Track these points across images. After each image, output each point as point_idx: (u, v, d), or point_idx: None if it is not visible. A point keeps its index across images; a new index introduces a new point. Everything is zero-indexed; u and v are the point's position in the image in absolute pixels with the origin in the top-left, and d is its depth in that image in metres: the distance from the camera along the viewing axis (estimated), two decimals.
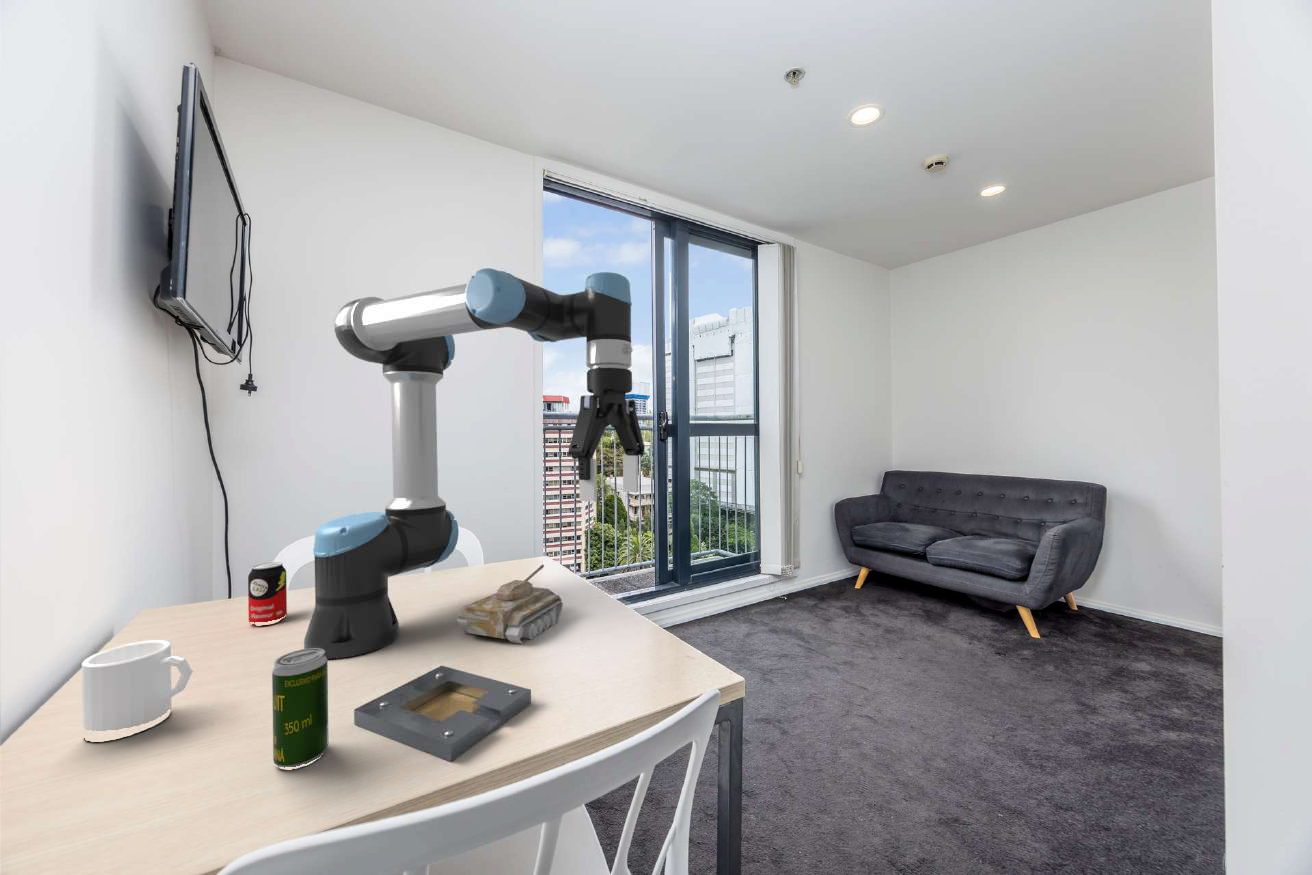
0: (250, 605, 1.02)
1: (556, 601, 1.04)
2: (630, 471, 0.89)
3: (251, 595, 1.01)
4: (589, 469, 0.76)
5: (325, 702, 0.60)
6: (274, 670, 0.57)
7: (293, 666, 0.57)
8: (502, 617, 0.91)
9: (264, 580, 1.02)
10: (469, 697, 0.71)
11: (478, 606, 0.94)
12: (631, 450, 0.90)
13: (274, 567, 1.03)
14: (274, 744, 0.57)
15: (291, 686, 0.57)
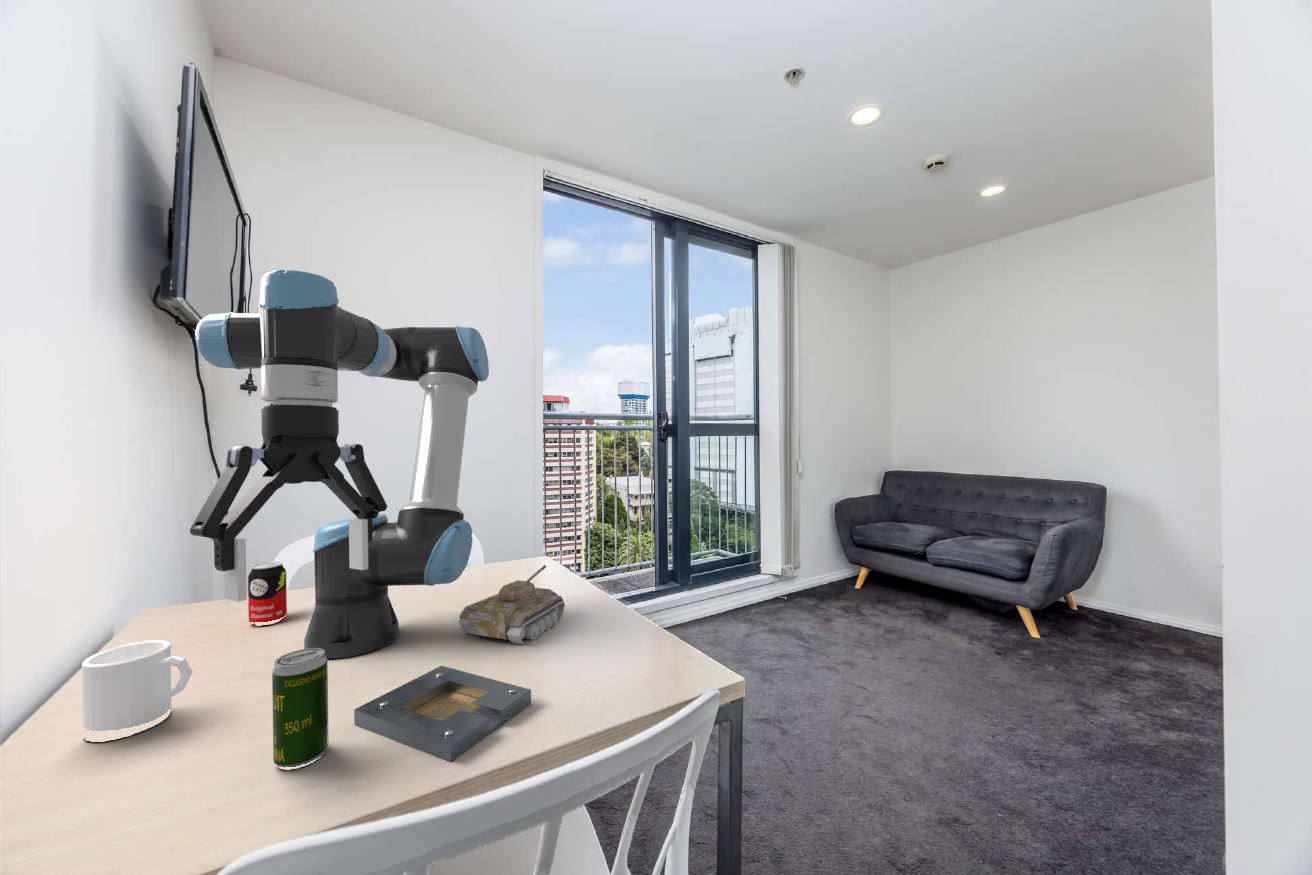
0: (250, 605, 1.02)
1: (558, 602, 1.03)
2: (356, 541, 0.65)
3: (251, 595, 1.01)
4: (231, 555, 0.52)
5: (325, 702, 0.60)
6: (274, 670, 0.57)
7: (293, 666, 0.57)
8: (503, 617, 0.90)
9: (264, 580, 1.02)
10: (469, 697, 0.71)
11: (480, 606, 0.94)
12: (361, 512, 0.66)
13: (274, 567, 1.03)
14: (274, 744, 0.57)
15: (291, 686, 0.57)
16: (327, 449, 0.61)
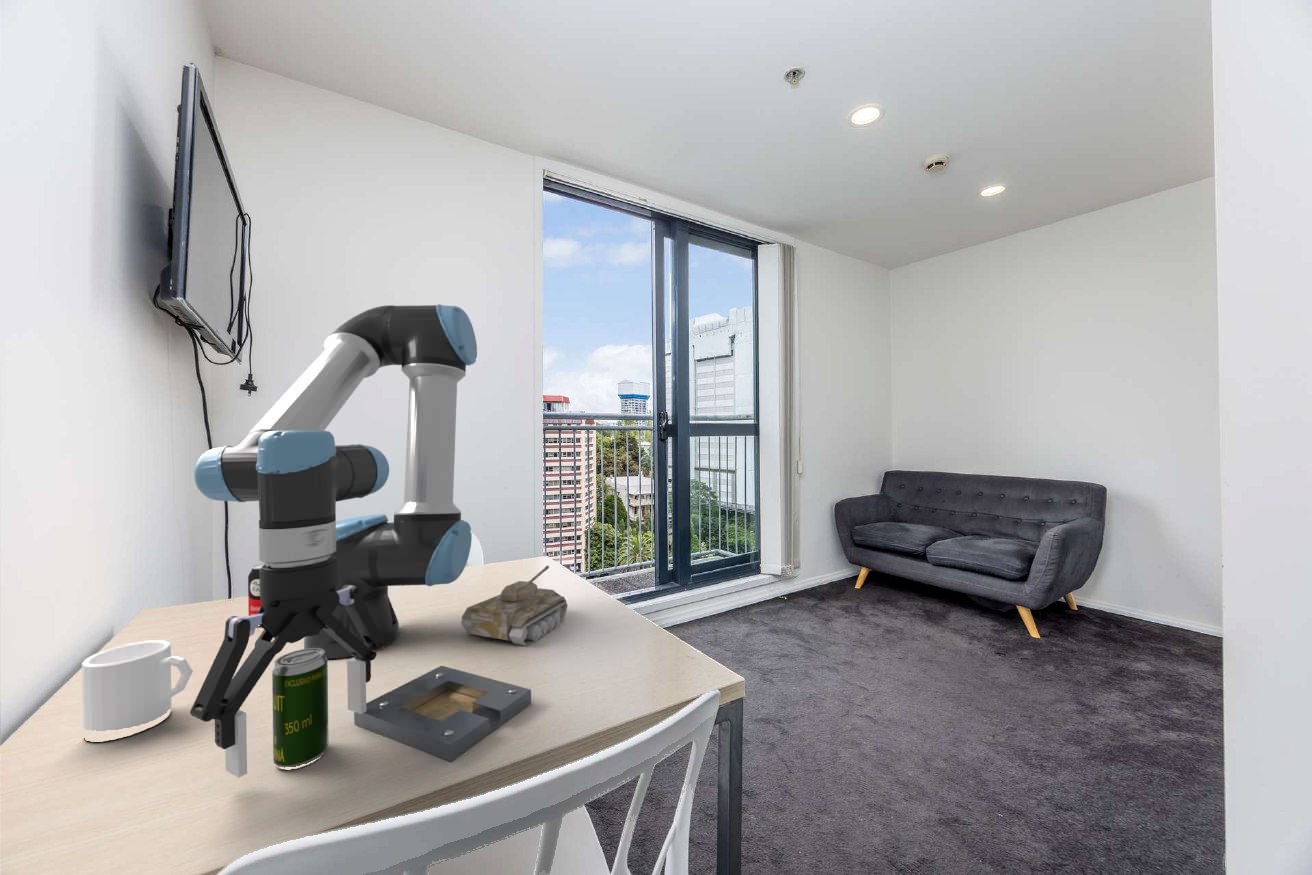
0: (250, 605, 1.02)
1: (561, 602, 1.03)
2: (354, 684, 0.65)
3: (251, 595, 1.01)
4: (231, 731, 0.53)
5: (325, 702, 0.60)
6: (274, 670, 0.57)
7: (293, 666, 0.57)
8: (506, 618, 0.90)
9: None
10: (469, 697, 0.71)
11: (482, 607, 0.94)
12: None
13: None
14: (274, 744, 0.57)
15: (291, 686, 0.57)
16: (326, 599, 0.61)
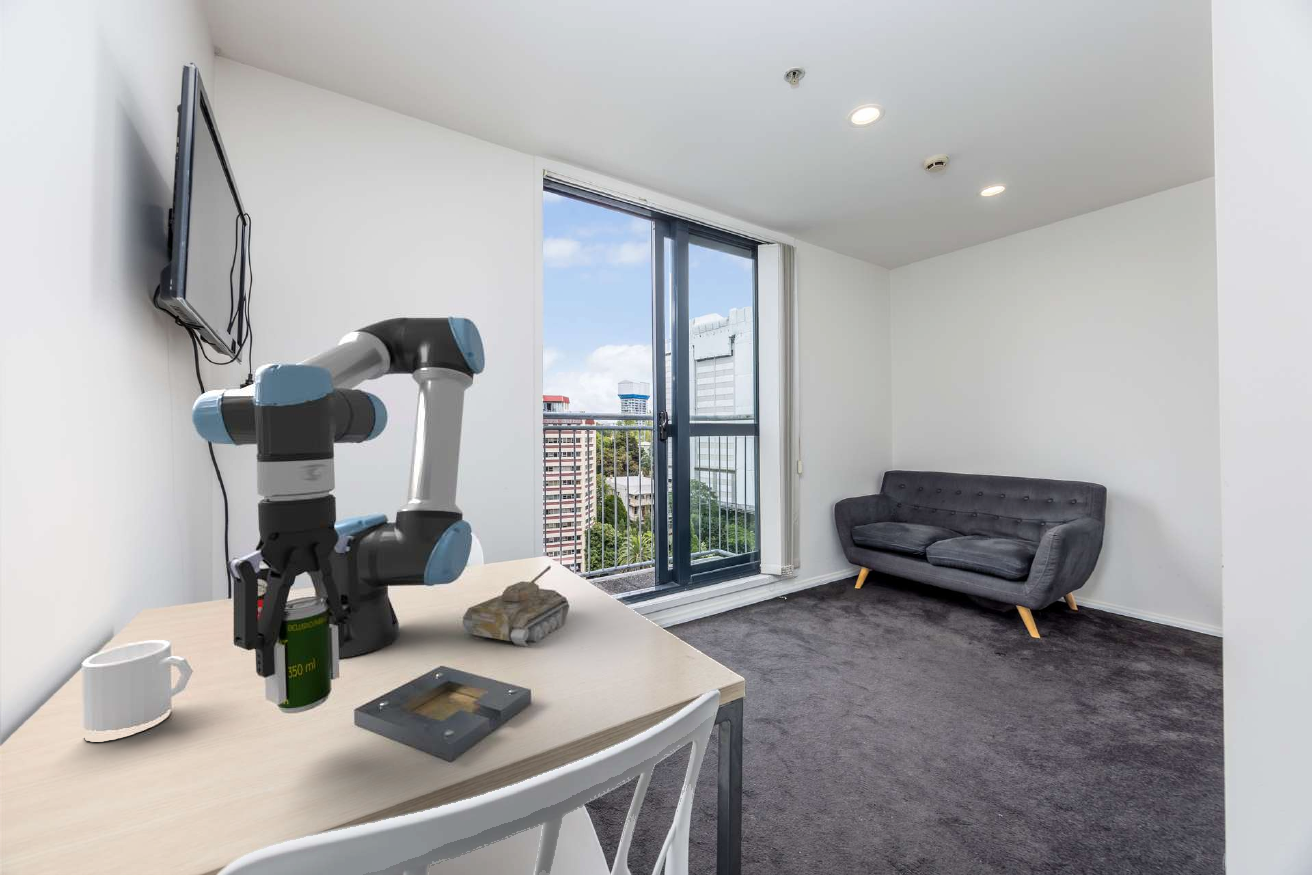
0: None
1: (562, 603, 1.02)
2: None
3: None
4: (271, 661, 0.56)
5: (328, 648, 0.60)
6: None
7: (295, 611, 0.57)
8: (507, 619, 0.90)
9: (264, 580, 1.02)
10: (469, 697, 0.71)
11: (484, 607, 0.93)
12: (331, 617, 0.63)
13: None
14: None
15: (294, 630, 0.57)
16: (326, 534, 0.61)
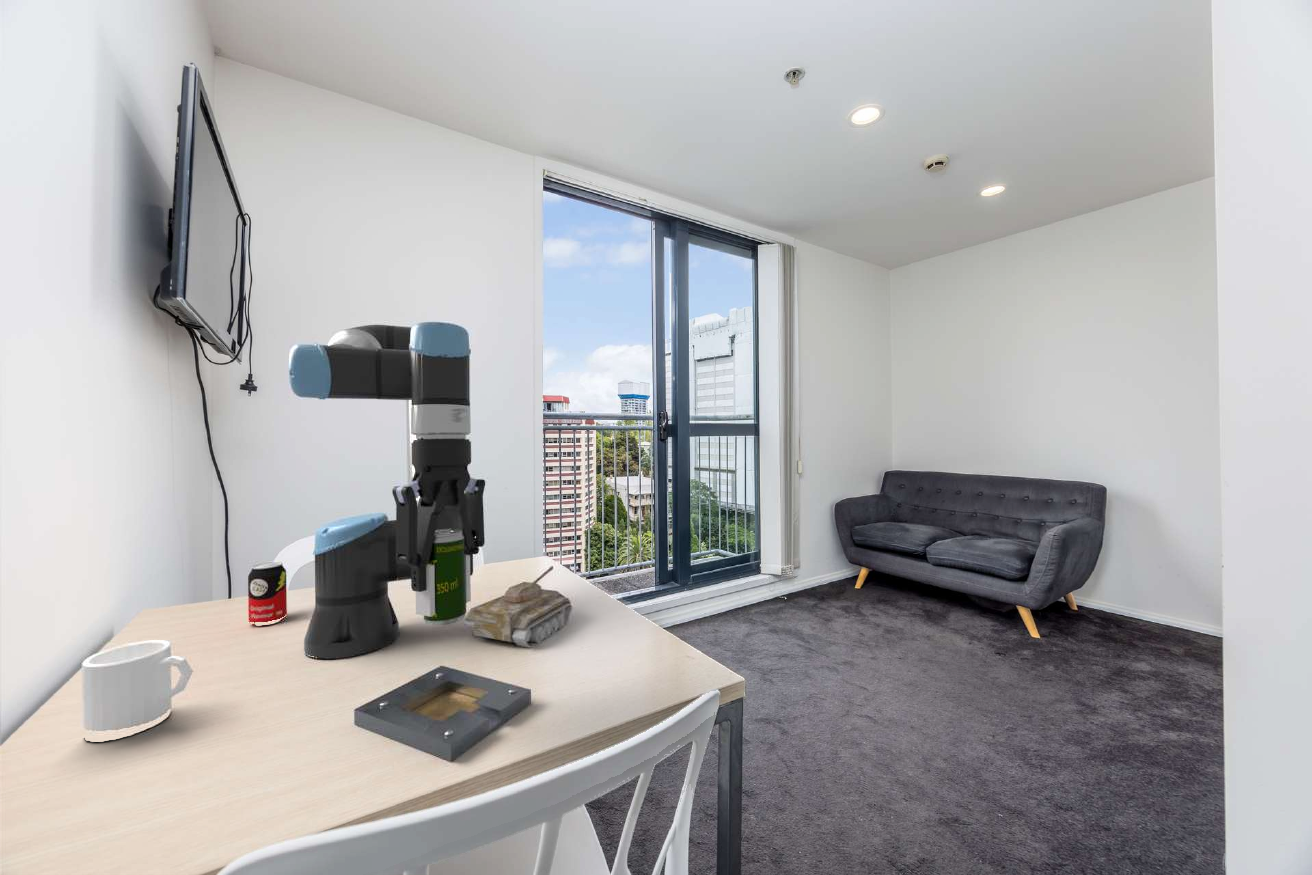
0: (250, 605, 1.02)
1: (565, 604, 1.02)
2: None
3: (251, 595, 1.01)
4: (424, 578, 0.65)
5: (465, 572, 0.69)
6: None
7: (443, 535, 0.66)
8: (509, 619, 0.89)
9: (264, 580, 1.02)
10: (469, 697, 0.71)
11: (486, 608, 0.93)
12: None
13: (274, 567, 1.03)
14: None
15: (442, 552, 0.66)
16: (462, 473, 0.70)
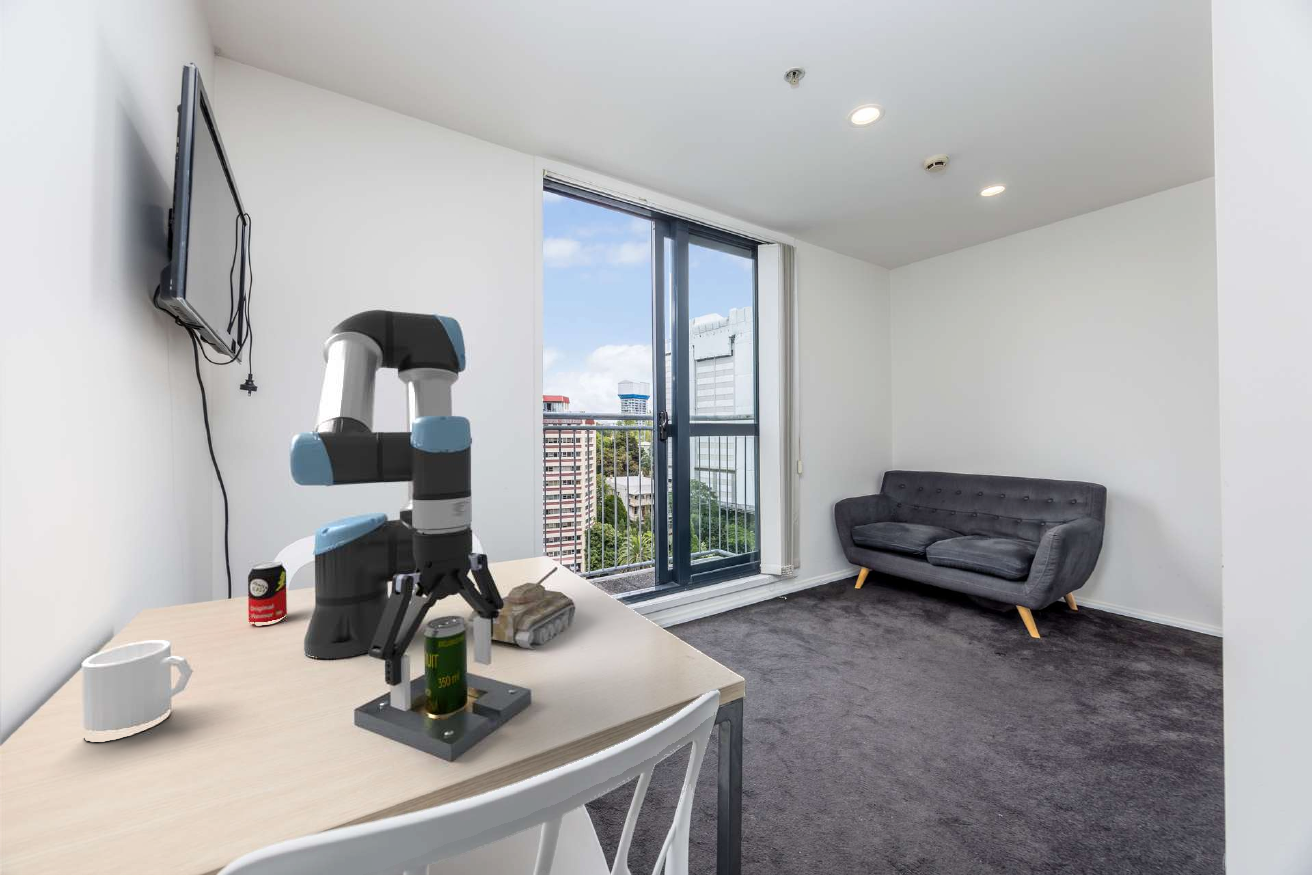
0: (250, 605, 1.02)
1: (569, 605, 1.01)
2: (481, 639, 0.74)
3: (251, 595, 1.01)
4: (399, 671, 0.61)
5: (466, 661, 0.69)
6: (427, 633, 0.66)
7: (445, 629, 0.66)
8: (512, 621, 0.89)
9: (264, 580, 1.02)
10: (469, 697, 0.71)
11: None
12: (484, 612, 0.75)
13: (274, 567, 1.03)
14: (428, 697, 0.66)
15: (444, 646, 0.66)
16: (462, 564, 0.70)
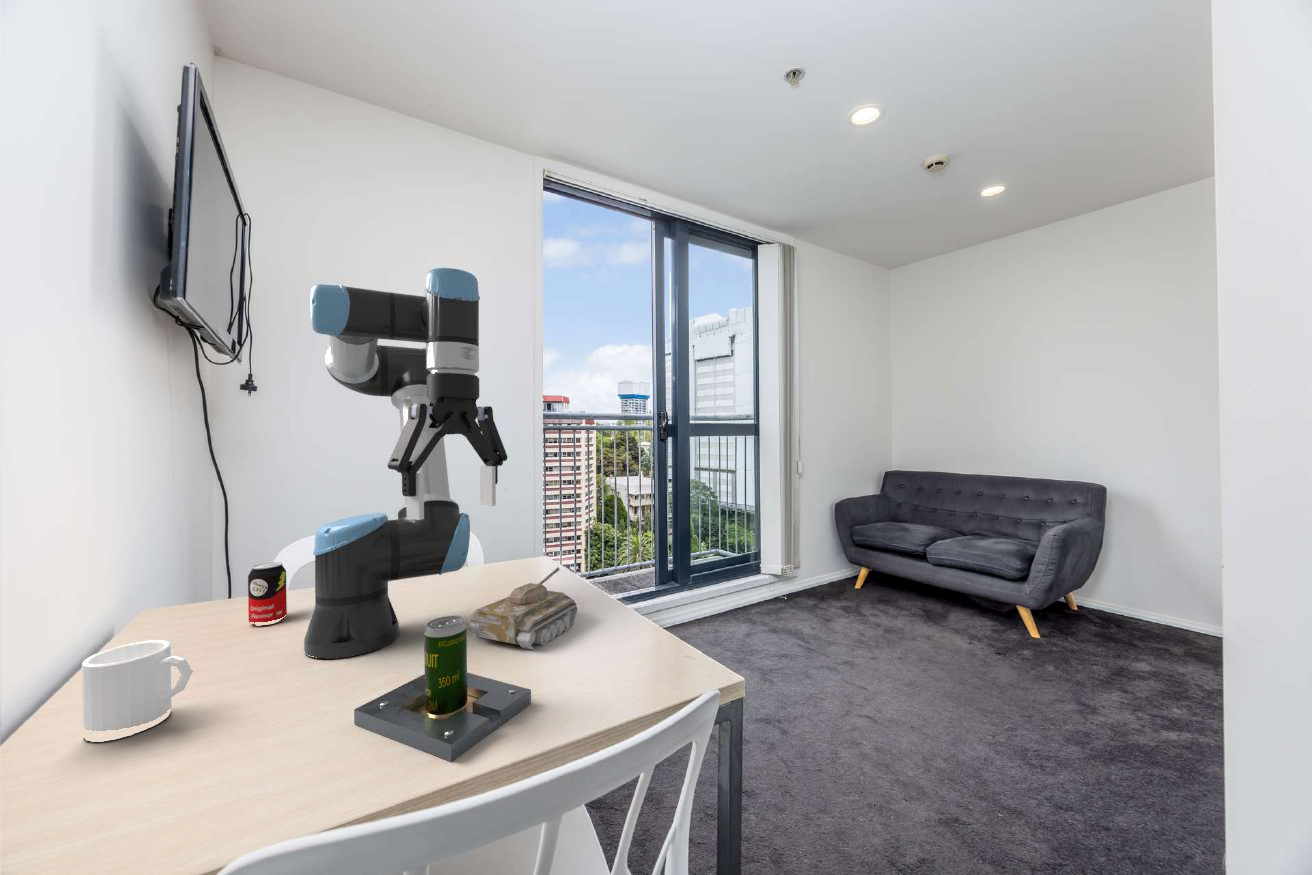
0: (250, 605, 1.02)
1: (571, 605, 1.01)
2: (486, 483, 0.83)
3: (251, 595, 1.01)
4: (414, 485, 0.70)
5: (466, 661, 0.69)
6: (427, 633, 0.66)
7: (445, 629, 0.66)
8: (513, 621, 0.88)
9: (264, 580, 1.02)
10: (469, 697, 0.71)
11: (490, 609, 0.92)
12: (489, 460, 0.83)
13: (274, 567, 1.03)
14: (428, 697, 0.66)
15: (444, 646, 0.66)
16: (470, 409, 0.78)
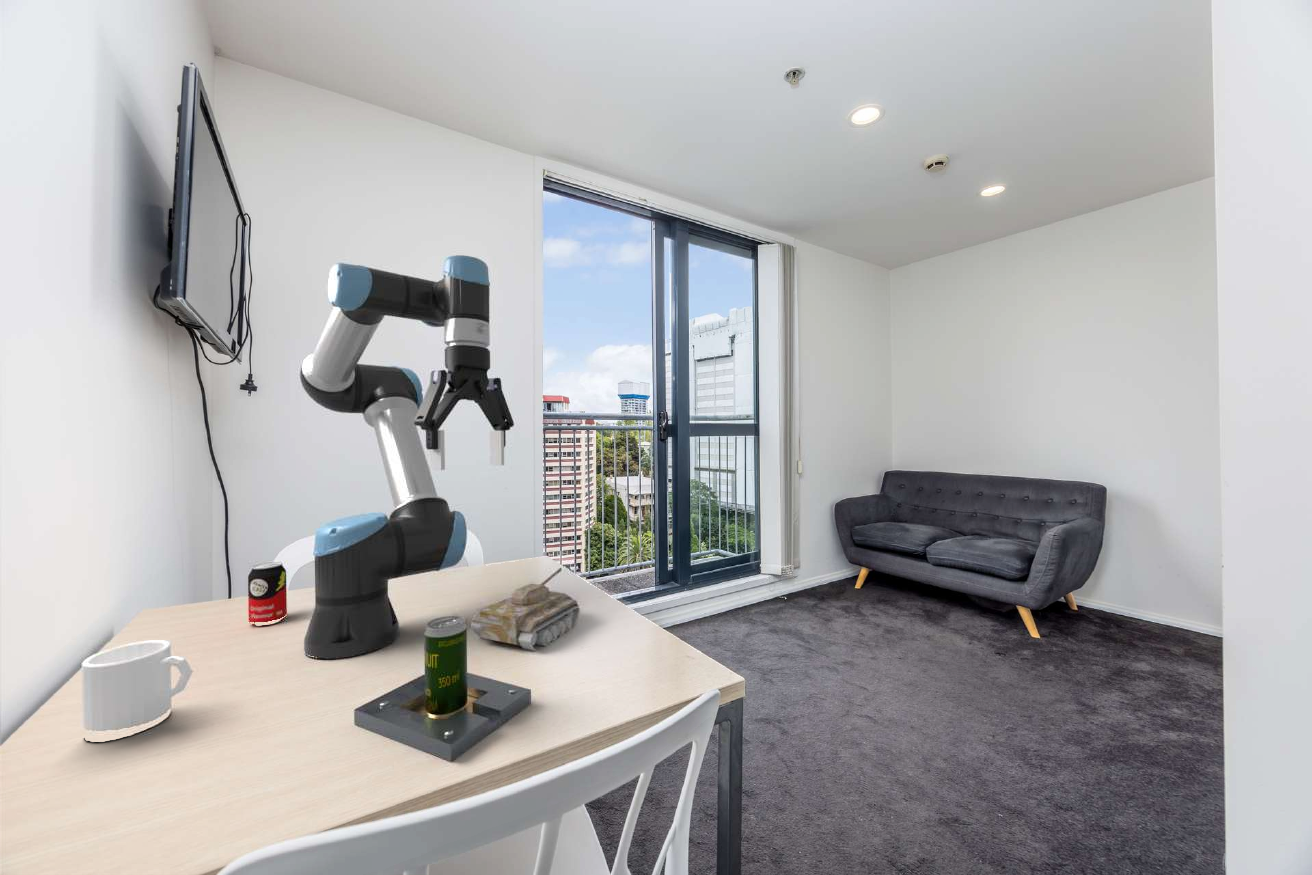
0: (250, 605, 1.02)
1: (573, 606, 1.00)
2: (496, 446, 0.94)
3: (251, 595, 1.01)
4: (436, 439, 0.81)
5: (466, 661, 0.69)
6: (427, 633, 0.66)
7: (445, 629, 0.66)
8: (515, 622, 0.88)
9: (264, 580, 1.02)
10: (469, 697, 0.71)
11: (492, 610, 0.92)
12: (498, 426, 0.94)
13: (274, 567, 1.03)
14: (428, 697, 0.66)
15: (444, 646, 0.66)
16: (482, 378, 0.90)
